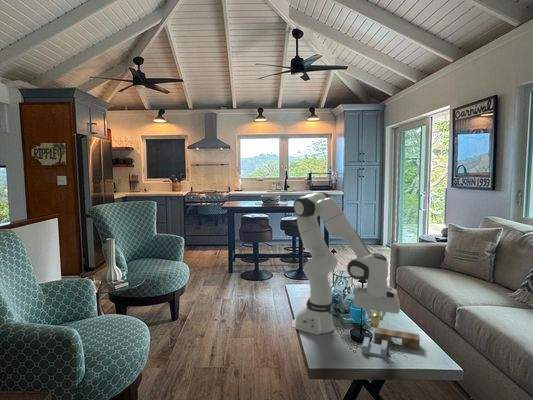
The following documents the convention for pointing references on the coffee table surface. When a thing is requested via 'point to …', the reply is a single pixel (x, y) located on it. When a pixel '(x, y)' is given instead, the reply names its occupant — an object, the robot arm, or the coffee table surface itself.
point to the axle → (375, 318)
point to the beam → (407, 338)
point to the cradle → (374, 348)
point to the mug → (357, 314)
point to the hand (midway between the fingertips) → (375, 318)
